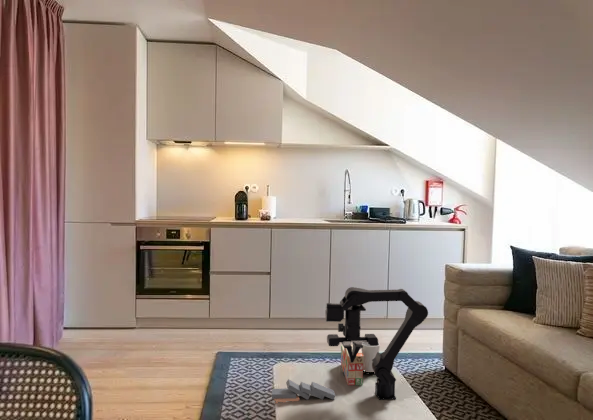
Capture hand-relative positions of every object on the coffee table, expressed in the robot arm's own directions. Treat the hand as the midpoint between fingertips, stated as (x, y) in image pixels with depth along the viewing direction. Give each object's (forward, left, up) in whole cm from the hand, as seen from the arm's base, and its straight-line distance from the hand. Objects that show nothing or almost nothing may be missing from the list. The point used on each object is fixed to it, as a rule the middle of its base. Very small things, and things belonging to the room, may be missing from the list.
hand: (351, 362), depth 172 cm
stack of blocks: (-4, -20, -13) cm, 24 cm away
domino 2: (+21, 0, -13) cm, 24 cm away
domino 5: (+7, +1, -12) cm, 14 cm away
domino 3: (+17, 0, -12) cm, 21 cm away
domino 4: (+11, 0, -12) cm, 16 cm away
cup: (-13, -23, -13) cm, 30 cm away
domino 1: (+21, +1, -11) cm, 24 cm away
